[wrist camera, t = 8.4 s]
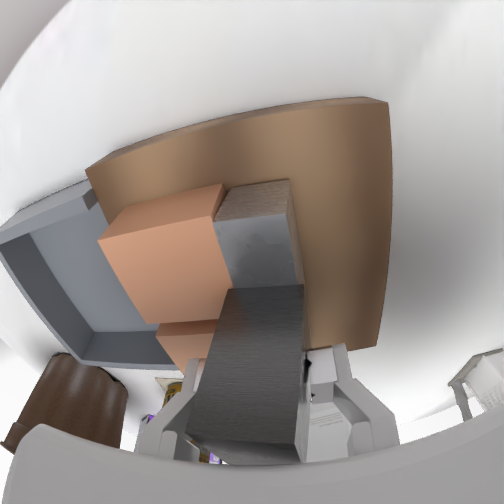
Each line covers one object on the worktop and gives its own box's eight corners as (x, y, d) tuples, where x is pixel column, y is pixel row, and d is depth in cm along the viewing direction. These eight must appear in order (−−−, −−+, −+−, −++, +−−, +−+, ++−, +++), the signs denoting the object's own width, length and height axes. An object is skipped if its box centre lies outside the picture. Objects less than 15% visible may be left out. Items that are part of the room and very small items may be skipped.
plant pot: (135, 365, 27) (98, 499, 14) (150, 415, 36) (132, 504, 23) (25, 326, 26) (-24, 428, 13) (63, 385, 35) (35, 463, 22)
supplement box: (276, 409, 31) (274, 518, 19) (343, 390, 28) (356, 511, 16) (305, 426, 35) (308, 516, 23) (363, 411, 32) (374, 506, 20)
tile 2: (222, 183, 12) (210, 215, 9) (248, 272, 15) (244, 316, 12) (125, 206, 13) (97, 240, 10) (162, 284, 15) (146, 323, 13)
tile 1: (252, 287, 15) (249, 330, 13) (268, 341, 18) (268, 380, 16) (169, 296, 16) (155, 336, 14) (197, 347, 19) (190, 383, 16)
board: (364, 96, 12) (388, 102, 9) (367, 316, 21) (376, 345, 18) (112, 152, 14) (84, 170, 12) (197, 337, 23) (191, 366, 20)
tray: (117, 167, 14) (81, 196, 11) (193, 329, 22) (184, 370, 19) (18, 211, 16) (-12, 238, 13) (95, 332, 24) (80, 364, 21)
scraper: (295, 178, 11) (277, 396, 4) (315, 343, 17) (308, 480, 10) (225, 188, 12) (126, 379, 5) (270, 345, 18) (249, 477, 11)
